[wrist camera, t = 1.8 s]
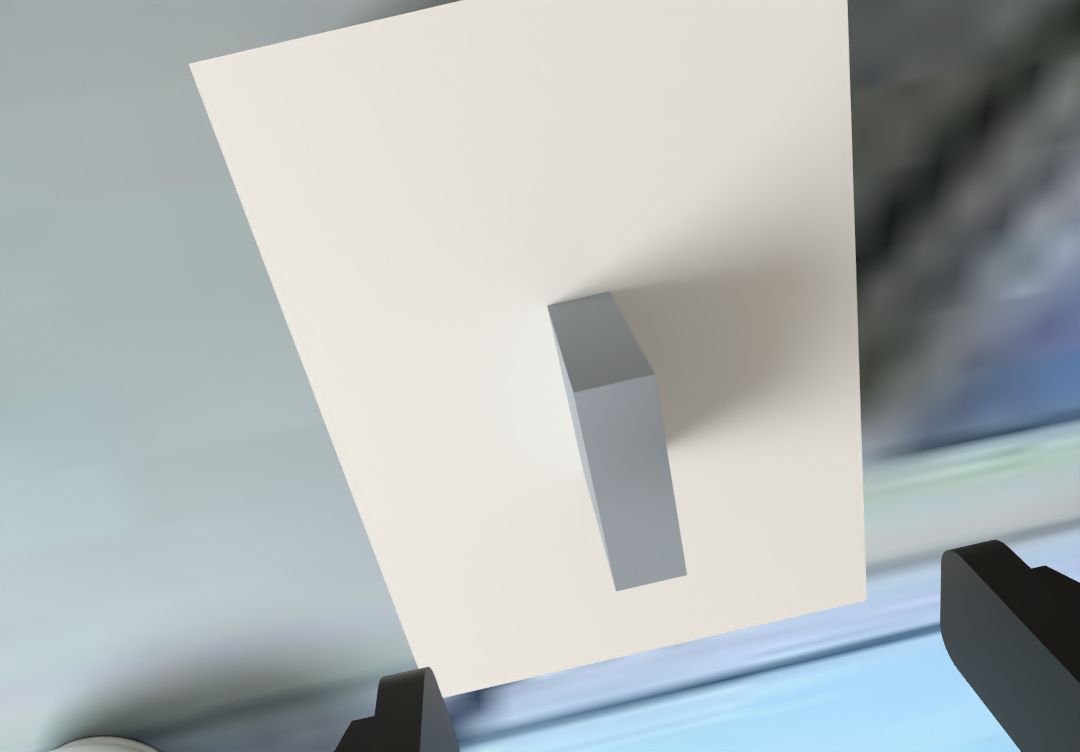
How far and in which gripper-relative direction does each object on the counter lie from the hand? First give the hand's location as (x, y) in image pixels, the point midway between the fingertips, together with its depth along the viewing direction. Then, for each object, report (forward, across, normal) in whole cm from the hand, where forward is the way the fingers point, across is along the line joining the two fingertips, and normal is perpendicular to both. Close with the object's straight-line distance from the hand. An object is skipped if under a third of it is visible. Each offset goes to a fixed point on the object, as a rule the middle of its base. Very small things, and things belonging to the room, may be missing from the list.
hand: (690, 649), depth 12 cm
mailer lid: (+12, 0, 0) cm, 12 cm away
